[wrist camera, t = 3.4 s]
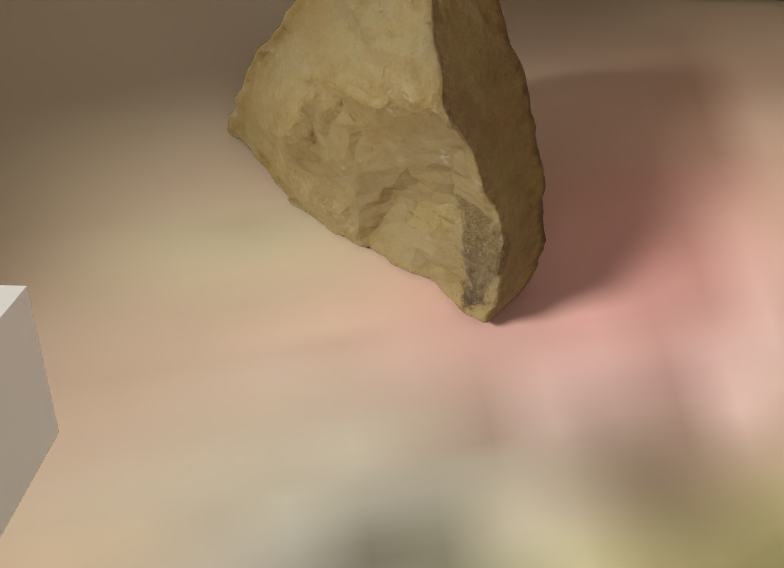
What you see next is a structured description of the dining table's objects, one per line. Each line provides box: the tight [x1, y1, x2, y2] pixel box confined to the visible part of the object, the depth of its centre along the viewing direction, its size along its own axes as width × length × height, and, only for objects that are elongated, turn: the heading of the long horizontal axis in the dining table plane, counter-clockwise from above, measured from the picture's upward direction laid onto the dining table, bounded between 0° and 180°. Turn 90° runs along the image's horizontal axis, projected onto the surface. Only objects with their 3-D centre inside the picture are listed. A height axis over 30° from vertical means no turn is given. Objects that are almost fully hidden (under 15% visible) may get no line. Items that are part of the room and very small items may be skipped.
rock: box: [228, 0, 546, 323], centre depth 21 cm, size 11×9×10 cm
